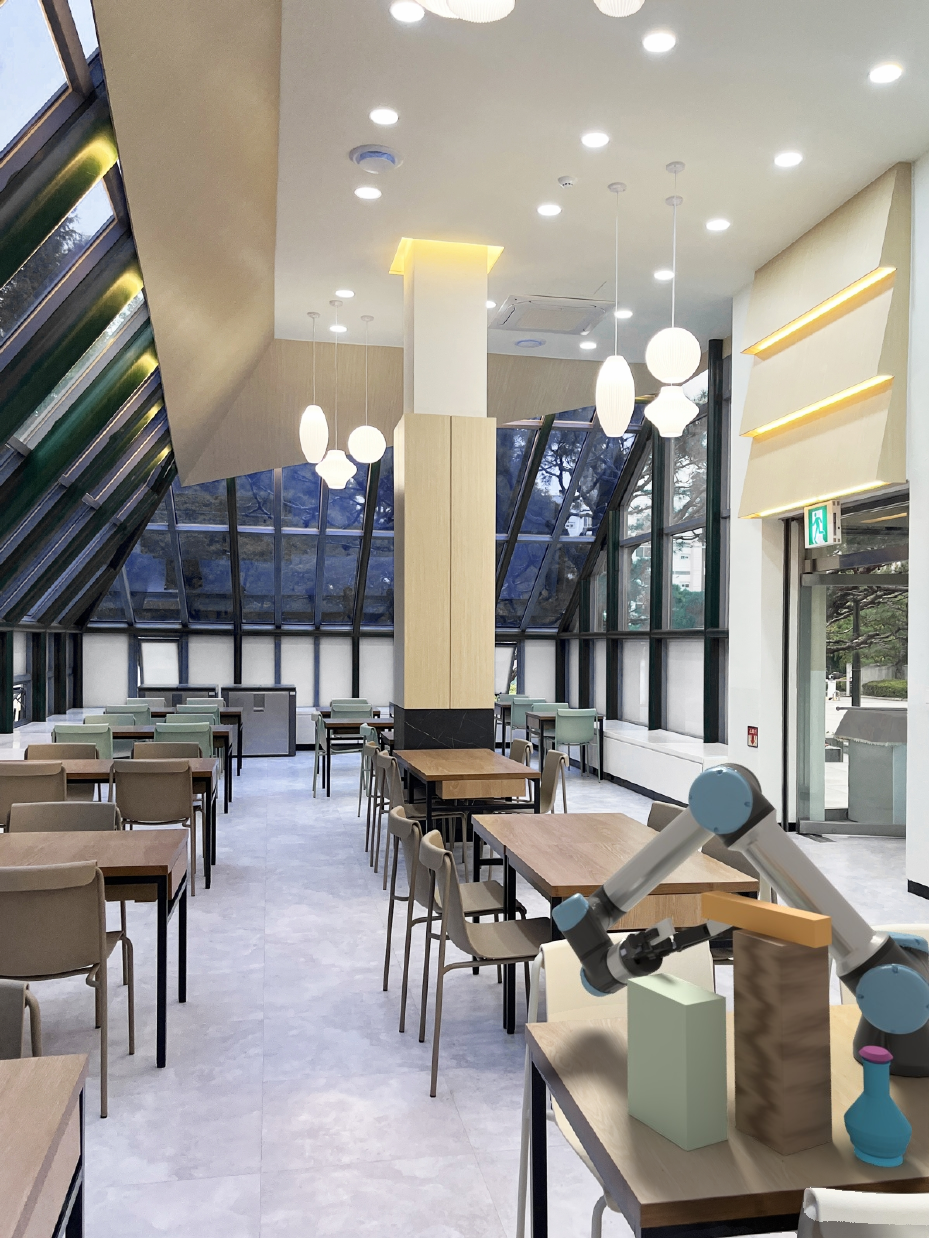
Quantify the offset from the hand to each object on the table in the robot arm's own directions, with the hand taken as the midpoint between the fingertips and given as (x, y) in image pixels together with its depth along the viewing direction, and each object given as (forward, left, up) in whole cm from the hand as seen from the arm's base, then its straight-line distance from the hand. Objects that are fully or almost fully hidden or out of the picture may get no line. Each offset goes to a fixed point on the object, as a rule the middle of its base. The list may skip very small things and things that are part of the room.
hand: (702, 920), depth 160 cm
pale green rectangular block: (+7, +13, -28) cm, 32 cm away
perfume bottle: (-21, +20, -29) cm, 41 cm away
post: (-9, +14, -28) cm, 33 cm away
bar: (-7, +12, +2) cm, 14 cm away
